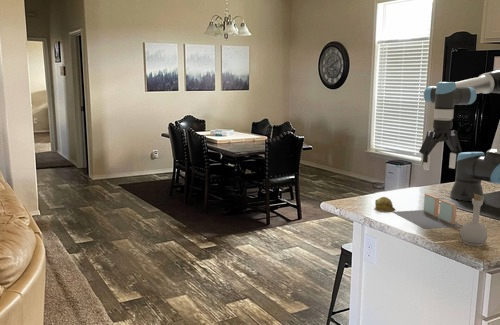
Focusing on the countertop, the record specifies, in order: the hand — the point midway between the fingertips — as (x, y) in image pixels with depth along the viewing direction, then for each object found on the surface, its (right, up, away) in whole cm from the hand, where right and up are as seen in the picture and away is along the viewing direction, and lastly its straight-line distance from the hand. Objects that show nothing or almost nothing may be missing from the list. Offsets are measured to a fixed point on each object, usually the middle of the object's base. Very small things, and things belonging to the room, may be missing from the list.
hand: (439, 169), depth 199 cm
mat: (-8, -21, -6) cm, 23 cm away
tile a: (-3, -19, +1) cm, 19 cm away
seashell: (-21, -19, +8) cm, 29 cm away
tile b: (-1, -21, -10) cm, 23 cm away
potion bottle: (-1, -26, -33) cm, 42 cm away
